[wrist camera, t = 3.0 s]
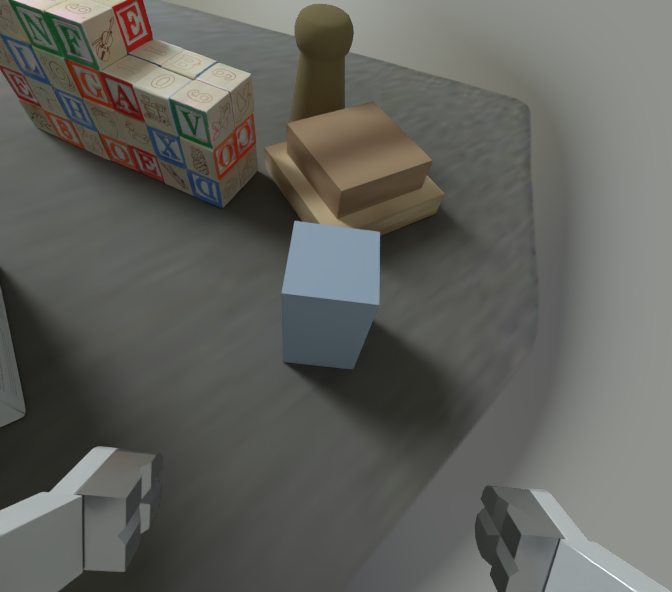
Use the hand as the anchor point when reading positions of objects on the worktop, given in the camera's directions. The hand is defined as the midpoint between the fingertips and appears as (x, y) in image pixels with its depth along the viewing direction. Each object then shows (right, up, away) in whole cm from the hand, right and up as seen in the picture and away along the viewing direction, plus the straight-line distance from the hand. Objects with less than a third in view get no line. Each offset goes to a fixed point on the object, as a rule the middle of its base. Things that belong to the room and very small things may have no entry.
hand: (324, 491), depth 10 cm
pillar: (-1, +2, +19) cm, 19 cm away
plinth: (+2, +15, +27) cm, 31 cm away
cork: (-2, +23, +32) cm, 40 cm away
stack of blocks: (-18, +19, +28) cm, 38 cm away
